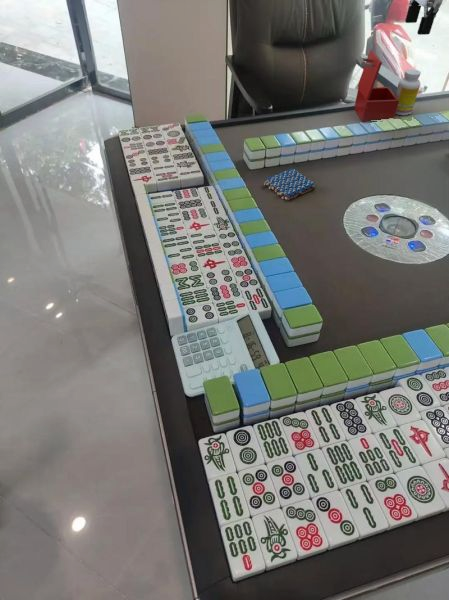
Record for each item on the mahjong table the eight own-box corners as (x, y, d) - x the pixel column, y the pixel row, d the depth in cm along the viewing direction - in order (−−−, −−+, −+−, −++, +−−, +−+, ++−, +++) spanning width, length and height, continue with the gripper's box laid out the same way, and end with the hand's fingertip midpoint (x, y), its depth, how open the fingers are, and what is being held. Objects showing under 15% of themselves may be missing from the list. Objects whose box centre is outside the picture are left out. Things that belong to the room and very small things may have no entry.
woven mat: (291, 172, 122) (292, 165, 121) (316, 189, 116) (317, 183, 115) (262, 184, 118) (262, 177, 117) (286, 203, 112) (287, 196, 111)
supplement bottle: (415, 114, 145) (428, 74, 135) (397, 117, 144) (409, 76, 134) (404, 106, 149) (416, 66, 139) (387, 108, 148) (398, 68, 138)
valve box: (383, 106, 149) (389, 86, 144) (393, 121, 142) (399, 100, 137) (354, 107, 148) (358, 87, 143) (362, 122, 142) (366, 101, 137)
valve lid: (372, 49, 135) (356, 47, 134) (382, 62, 128) (365, 60, 127) (359, 86, 143) (344, 84, 142) (368, 100, 136) (352, 98, 136)
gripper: (469, -45, 99) (442, 38, 112) (440, -59, 111) (419, 18, 124) (438, -44, 99) (414, 39, 112) (412, -58, 111) (393, 18, 123)
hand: (416, 28), depth 118 cm, fingers open, 9 cm apart
